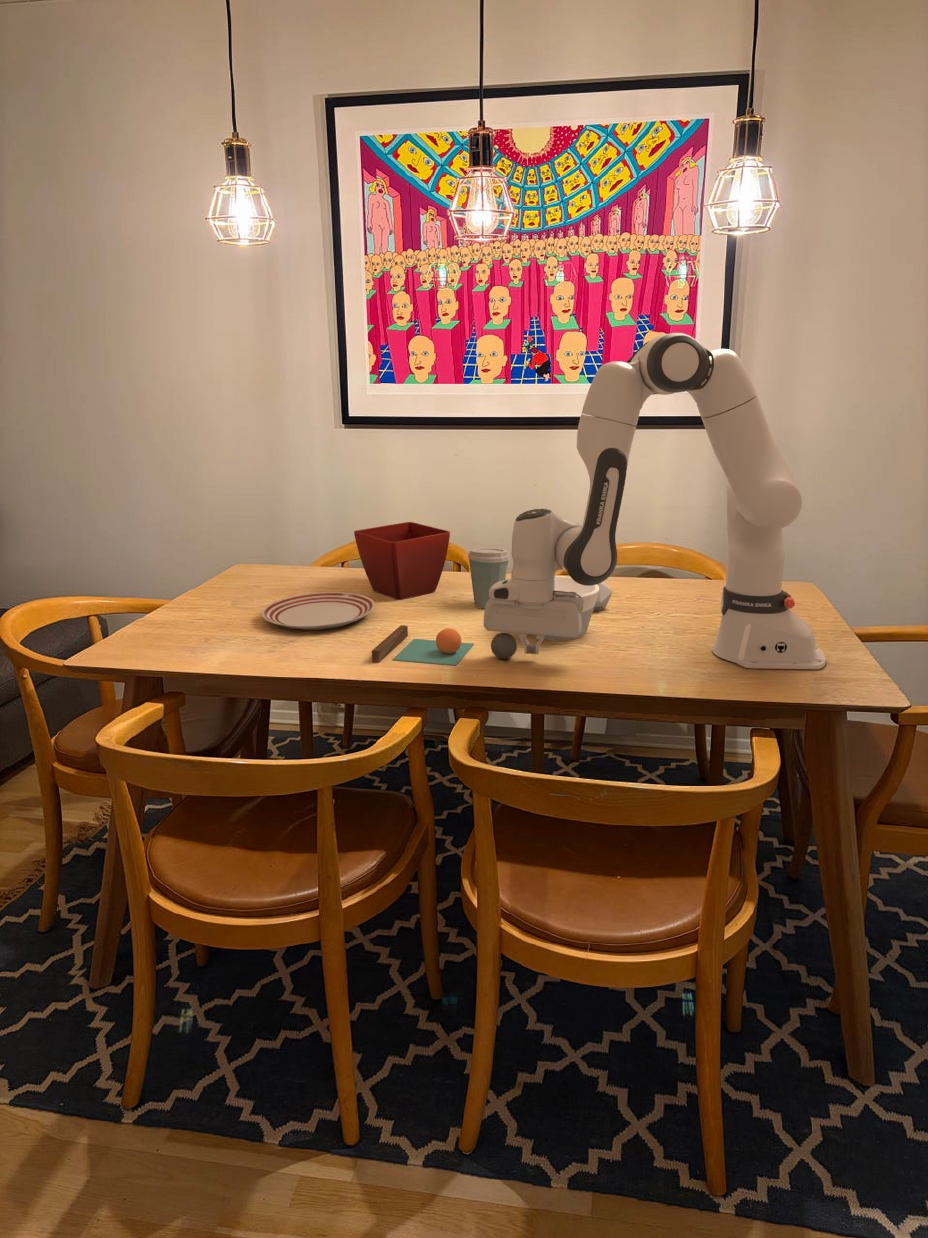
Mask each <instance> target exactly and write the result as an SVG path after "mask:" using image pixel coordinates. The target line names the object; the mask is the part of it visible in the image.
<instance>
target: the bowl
mask: <svg viewBox="0 0 928 1238" xmlns="http://www.w3.org/2000/svg"><path fill="white" fill-rule="evenodd" d="M554 590H555V591H565V592H576V594H578V595H580V596H581V597H582V598H583V610H582V612H581V621H582V629H581V632H580V634H579V635H578V636H577V637H563V636H550V635H545V638H544V639H543V640H545V641H546V640H547V641H571V640H576V639H580V638H582V637H584V636H585V635H586V634H587V631H588V628H589V625H590V622H591V619H592V616H593V612H594V610H593V609H594V606H595V603H596V599H597V596H598V592H599V586H598V585H592V586H585V585H581V584H579V583H577V582H575V581H574V580H573V579H572V578H571V577H570V576H563V575H555V589H554ZM576 597H578V596H576ZM528 635H529V636H530V637H533V638H536V639H537V634H528Z"/></svg>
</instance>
